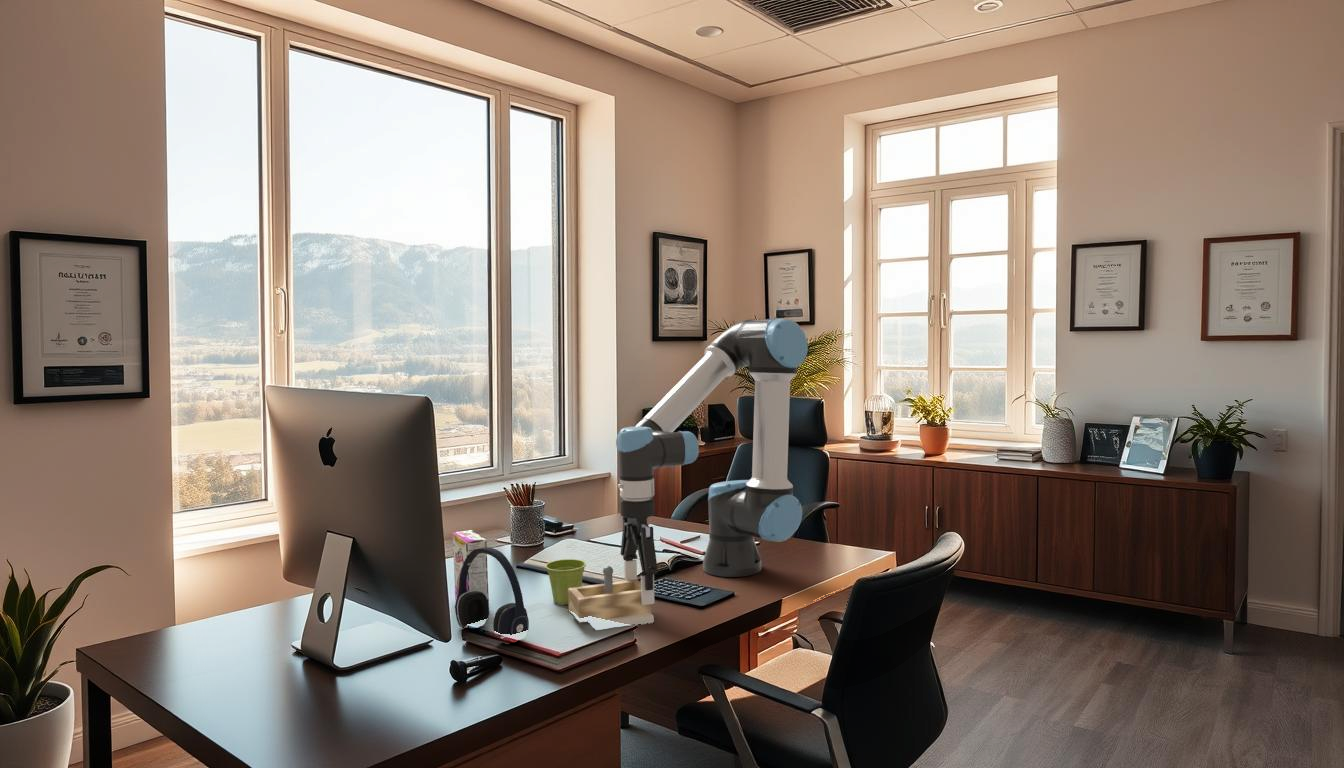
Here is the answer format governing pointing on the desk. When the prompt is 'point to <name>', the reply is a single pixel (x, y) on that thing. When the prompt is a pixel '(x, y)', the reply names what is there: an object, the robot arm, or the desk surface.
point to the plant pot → (564, 577)
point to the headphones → (476, 604)
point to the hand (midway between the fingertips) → (639, 596)
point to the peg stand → (628, 619)
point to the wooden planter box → (608, 600)
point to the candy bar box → (478, 568)
